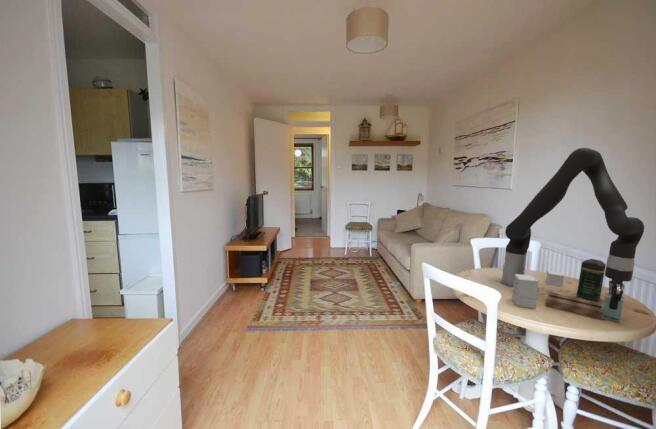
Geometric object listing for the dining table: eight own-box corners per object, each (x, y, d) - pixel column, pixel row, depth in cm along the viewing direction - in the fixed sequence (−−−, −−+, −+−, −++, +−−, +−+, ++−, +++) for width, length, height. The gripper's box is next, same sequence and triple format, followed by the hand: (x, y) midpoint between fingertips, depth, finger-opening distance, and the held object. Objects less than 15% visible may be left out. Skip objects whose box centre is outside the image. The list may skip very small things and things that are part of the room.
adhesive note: (562, 286, 146) (563, 275, 145) (548, 284, 149) (549, 273, 148) (559, 283, 152) (561, 272, 151) (545, 280, 154) (547, 270, 153)
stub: (602, 315, 116) (606, 294, 114) (602, 313, 117) (605, 293, 116) (620, 319, 112) (623, 298, 111) (619, 317, 114) (623, 296, 112)
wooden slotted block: (545, 306, 124) (546, 298, 123) (547, 298, 132) (547, 291, 131) (602, 320, 113) (603, 311, 112) (599, 310, 121) (601, 302, 120)
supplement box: (529, 301, 128) (533, 275, 127) (535, 309, 122) (539, 281, 120) (511, 299, 131) (514, 273, 129) (516, 306, 124) (519, 278, 122)
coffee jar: (596, 303, 127) (603, 264, 124) (574, 297, 133) (579, 259, 131) (602, 298, 133) (608, 260, 130) (580, 292, 139) (585, 256, 136)
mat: (603, 318, 114) (603, 318, 114) (602, 313, 119) (602, 312, 119) (619, 322, 111) (619, 321, 111) (617, 316, 116) (617, 316, 116)
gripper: (604, 261, 119) (598, 299, 122) (608, 269, 109) (601, 311, 111) (630, 264, 114) (623, 305, 117) (636, 273, 104) (628, 317, 107)
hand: (612, 307), depth 114 cm, fingers closed on stub
